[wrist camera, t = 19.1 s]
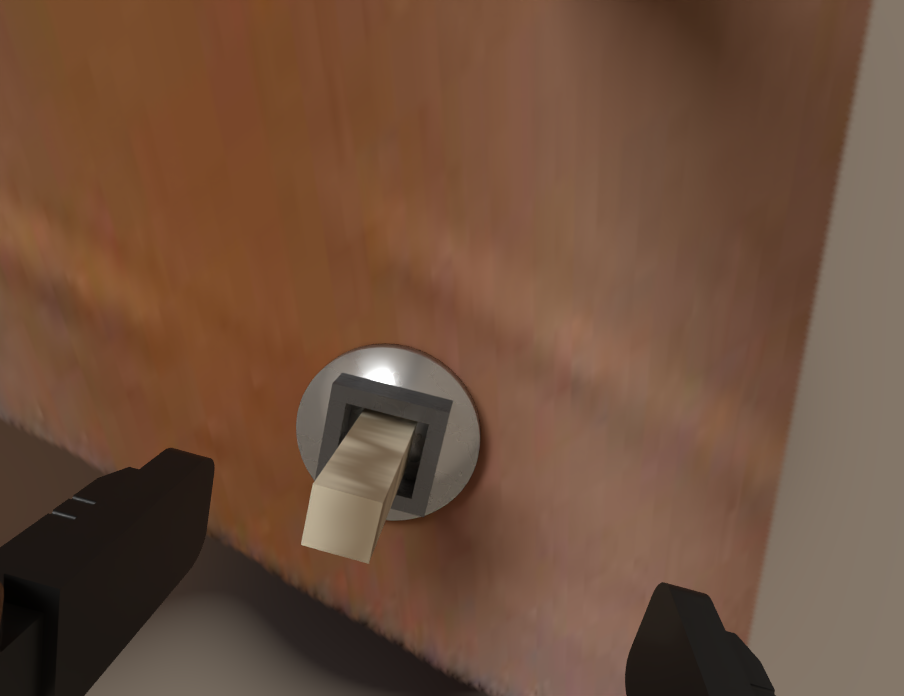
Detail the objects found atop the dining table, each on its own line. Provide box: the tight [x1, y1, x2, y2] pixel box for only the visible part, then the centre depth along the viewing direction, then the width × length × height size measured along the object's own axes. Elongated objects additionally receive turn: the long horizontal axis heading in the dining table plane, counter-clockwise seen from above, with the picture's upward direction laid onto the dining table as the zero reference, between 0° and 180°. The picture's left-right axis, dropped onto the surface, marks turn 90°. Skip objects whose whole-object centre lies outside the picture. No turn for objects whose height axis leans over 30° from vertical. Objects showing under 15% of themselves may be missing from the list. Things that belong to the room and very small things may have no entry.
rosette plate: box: [296, 344, 481, 521], centre depth 44 cm, size 14×14×4 cm
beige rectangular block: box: [301, 408, 418, 564], centre depth 39 cm, size 4×4×12 cm
